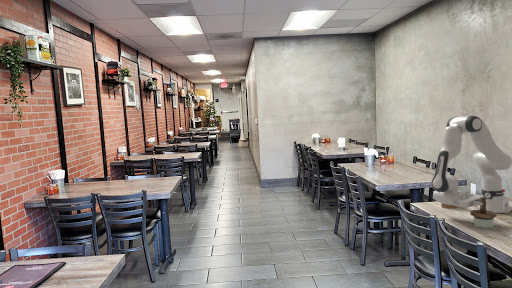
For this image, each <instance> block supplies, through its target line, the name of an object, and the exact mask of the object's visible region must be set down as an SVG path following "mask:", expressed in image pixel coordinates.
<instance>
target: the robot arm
mask: <svg viewBox="0 0 512 288" xmlns="http://www.w3.org/2000/svg"><path fill="white" fill-rule="evenodd" d="M467 133H468V134H469V136H470V138H471V141H472V143H473V146H474V147H475V149H476V150H477V152H475V153H474V154H473V156H472V163H473V164H474V165H475V166H476V167H477V169H478V172H479V173H480V176H481V177H480V178H481V191H480V192H481V195H480V194H476V193H475V194H474V193H471V192H466V191H465V192H461V191H458V190H459V185H460V184H459V180H458V179H457V178H456V177H455V176H451V175H447V173H448V167H449V164H450V161H451V160H454V158H456V157H458V156H459V155H460V154H461V151H462V143H463V142H462V141H463V138H462V136H463V134H467ZM441 138H442V139H441V140H442V141H441V147H440V151H439V154H438V156H437V161H436V165H435V167H436V168H435V171H434V175H433V178H432V180H431V187H432V189H433V190H434V192H433V199H434V200H435V201H436V202H438V203H440V204H441V203H443V204H448V205H450V204H451V205H454V206H455V207H460V208H470V207H471V208H472V207H473V206H477V209H478V210H480V206H482V205H483V202H480V197H484V198H486V210H487V211H492V212H495V213H496V214H503V213H504V214H508V213H510V212H511V211H512V205H510V200H509V199H508V198H507V197H506V195H505V192H506V189H505V188H503V179H502V176H501V175H499V174H498V172H497V171H506V170H508V169H510V168H511V167H512V157H511V156H510V155H508V154H507V153H505V152H504V151H503V150H502V149H501V148H500V146H498V145H497V143H496V142H495V140H494V138H493V135H492V134H491V131H490V129H489V127H488V126H487V124H486V123H485V121H484V120H483V119H481V118H480V116H476V115H461V116H453V117H451V118H449V119H447V122H446V127H445V128H444V130H443V134H442V137H441Z"/></svg>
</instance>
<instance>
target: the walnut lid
mask: <svg viewBox="0 0 512 288" xmlns="http://www.w3.org/2000/svg"><path fill="white" fill-rule="evenodd" d="M480 202H483V205H482V206H480V209H473V210H470V211H469V212H470V213H469V214H470V216H475V217H480V218H496V217H497V214H498V213H495V212H492V211H487V210H486V198H484V197H480Z"/></svg>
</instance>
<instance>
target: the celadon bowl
mask: <svg viewBox="0 0 512 288" xmlns="http://www.w3.org/2000/svg"><path fill="white" fill-rule="evenodd" d="M494 218H495V217H494ZM494 218H480V217H475V216H473V226H475V227H477V228H484V229H489V228H490V229H491V228H494V227H495V219H494Z"/></svg>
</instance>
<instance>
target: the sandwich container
mask: <svg viewBox="0 0 512 288" xmlns="http://www.w3.org/2000/svg"><path fill="white" fill-rule="evenodd" d="M440 204H441V205H440V206H441V208H445V209H446V208H448V209H449V208H450V209H455V208H456V206H454V205H451V204H450V205H448V204H443V203H440Z"/></svg>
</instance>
